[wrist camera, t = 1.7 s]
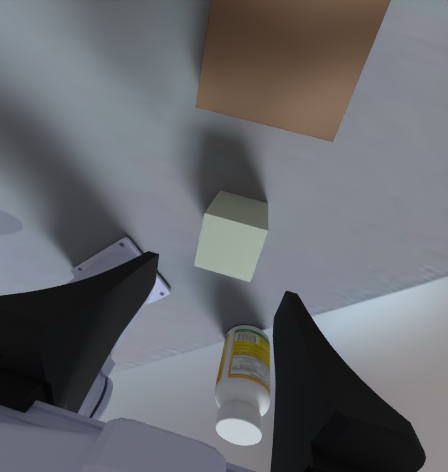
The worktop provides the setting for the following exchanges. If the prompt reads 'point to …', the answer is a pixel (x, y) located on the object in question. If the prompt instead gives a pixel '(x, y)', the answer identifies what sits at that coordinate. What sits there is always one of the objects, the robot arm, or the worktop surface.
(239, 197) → the sage brick
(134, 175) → the worktop surface
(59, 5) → the worktop surface
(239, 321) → the worktop surface
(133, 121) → the worktop surface
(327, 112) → the walnut block
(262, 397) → the supplement bottle
